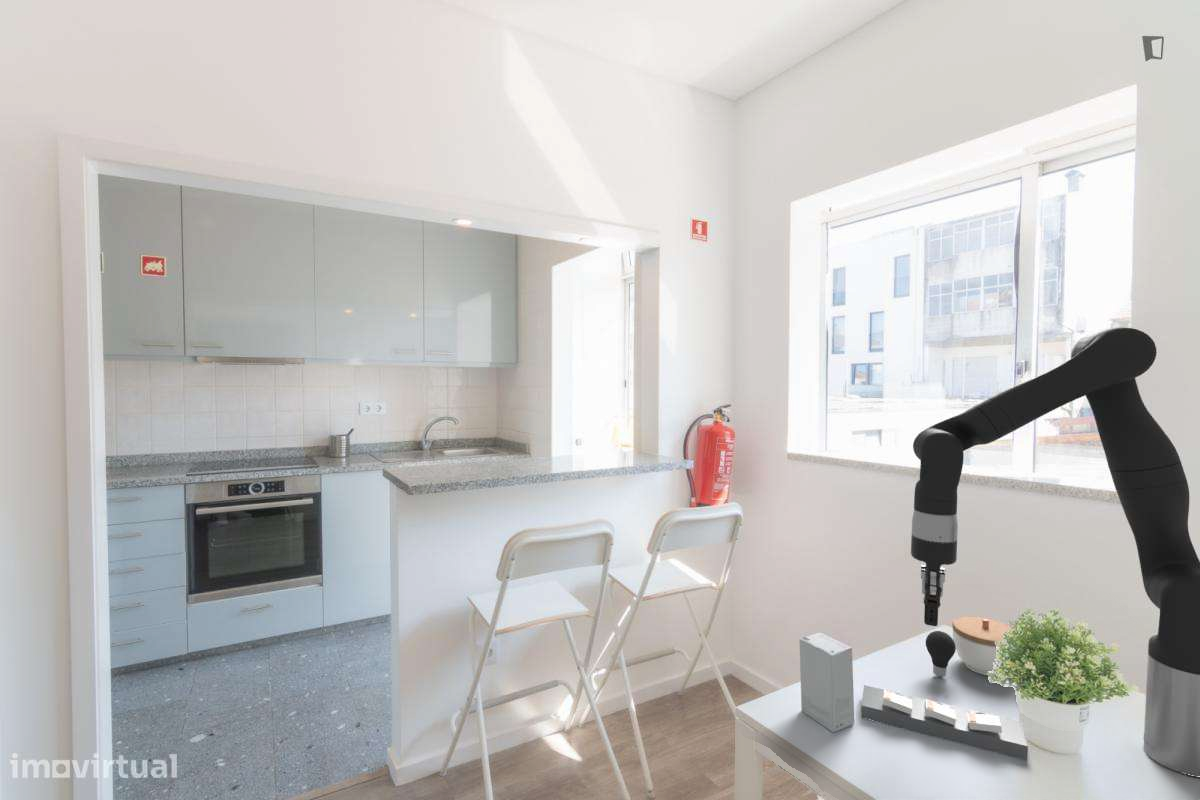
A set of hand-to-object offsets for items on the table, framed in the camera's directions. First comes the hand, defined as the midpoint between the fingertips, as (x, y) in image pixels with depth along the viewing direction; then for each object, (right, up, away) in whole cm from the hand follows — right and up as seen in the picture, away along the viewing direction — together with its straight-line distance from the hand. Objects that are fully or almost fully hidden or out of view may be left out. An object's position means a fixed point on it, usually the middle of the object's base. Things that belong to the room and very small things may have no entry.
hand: (930, 623), depth 111 cm
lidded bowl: (+23, -17, +19) cm, 34 cm away
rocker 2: (+6, -15, -7) cm, 18 cm away
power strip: (0, -18, -2) cm, 18 cm away
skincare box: (-20, -19, +1) cm, 27 cm away
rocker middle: (-1, -15, -4) cm, 16 cm away
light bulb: (+11, -18, +15) cm, 26 cm away
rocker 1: (-7, -15, -1) cm, 17 cm away
